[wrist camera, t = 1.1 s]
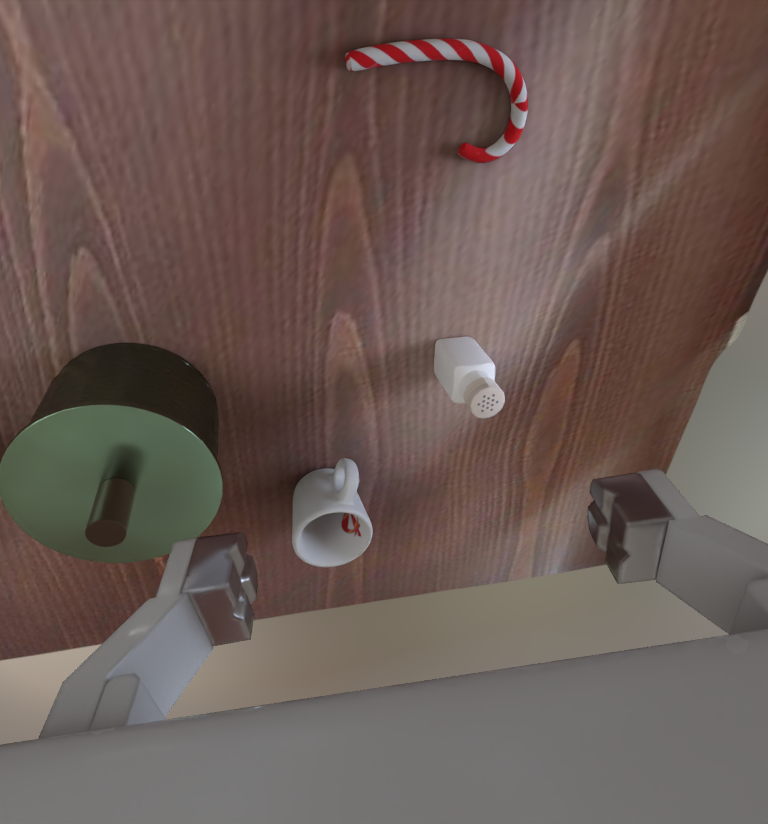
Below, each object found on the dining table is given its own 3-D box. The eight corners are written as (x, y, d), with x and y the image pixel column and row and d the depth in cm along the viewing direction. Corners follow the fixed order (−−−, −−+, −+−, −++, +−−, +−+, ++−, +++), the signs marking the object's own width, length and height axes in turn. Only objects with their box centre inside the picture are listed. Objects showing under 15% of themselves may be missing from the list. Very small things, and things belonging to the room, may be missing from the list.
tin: (36, 454, 51) (-4, 536, 42) (67, 320, 45) (28, 383, 36) (192, 486, 56) (186, 563, 48) (238, 370, 51) (239, 435, 42)
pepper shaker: (431, 373, 56) (463, 425, 48) (433, 337, 53) (468, 385, 46) (468, 369, 56) (506, 419, 49) (472, 333, 54) (512, 380, 46)
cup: (307, 430, 56) (318, 480, 49) (378, 445, 59) (396, 493, 53) (276, 509, 61) (282, 564, 54) (343, 518, 64) (356, 572, 57)
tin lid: (-12, 535, 42) (-41, 594, 38) (22, 369, 36) (-9, 415, 32) (191, 564, 49) (187, 618, 44) (249, 427, 43) (251, 473, 38)
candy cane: (356, 2, 37) (547, 62, 41) (352, 3, 38) (539, 62, 42) (334, 129, 41) (512, 171, 45) (332, 127, 42) (506, 168, 46)
